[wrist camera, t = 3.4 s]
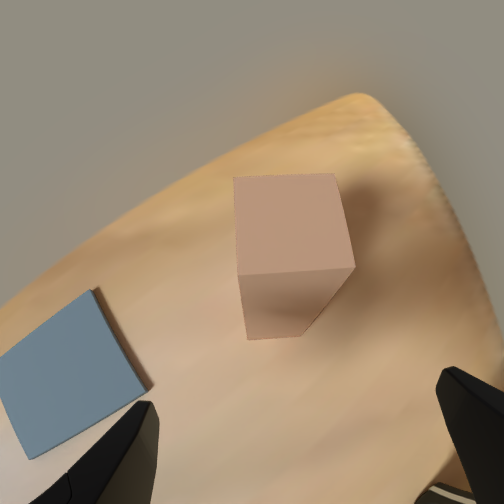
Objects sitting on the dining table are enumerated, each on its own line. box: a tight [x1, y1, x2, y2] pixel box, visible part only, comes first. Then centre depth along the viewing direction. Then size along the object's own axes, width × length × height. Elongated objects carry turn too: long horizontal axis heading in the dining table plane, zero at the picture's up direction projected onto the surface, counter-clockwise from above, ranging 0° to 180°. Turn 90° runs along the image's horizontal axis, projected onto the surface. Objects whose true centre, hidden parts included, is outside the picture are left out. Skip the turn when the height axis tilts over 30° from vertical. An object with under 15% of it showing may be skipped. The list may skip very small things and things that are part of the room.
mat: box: [0, 289, 148, 460], centre depth 19 cm, size 13×9×1 cm
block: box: [233, 174, 356, 340], centre depth 16 cm, size 4×4×12 cm
